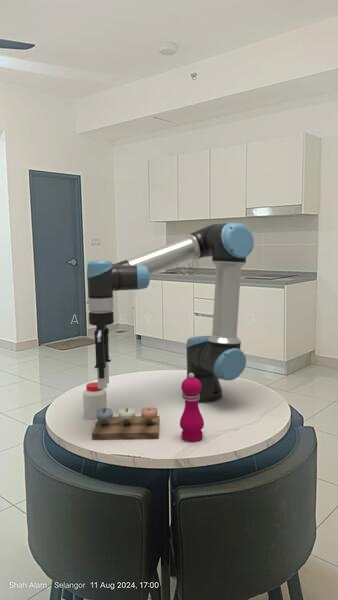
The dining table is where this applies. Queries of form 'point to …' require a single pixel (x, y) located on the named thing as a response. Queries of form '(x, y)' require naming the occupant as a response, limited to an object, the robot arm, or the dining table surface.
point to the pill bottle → (93, 400)
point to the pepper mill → (191, 410)
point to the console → (126, 429)
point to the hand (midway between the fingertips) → (103, 385)
